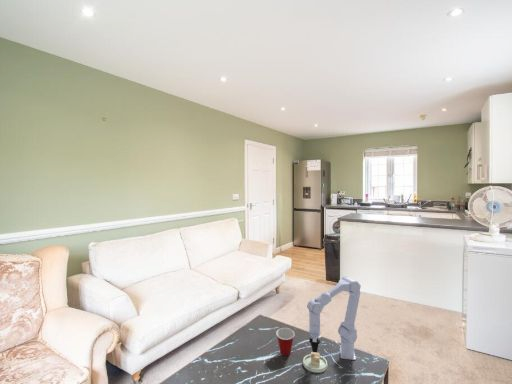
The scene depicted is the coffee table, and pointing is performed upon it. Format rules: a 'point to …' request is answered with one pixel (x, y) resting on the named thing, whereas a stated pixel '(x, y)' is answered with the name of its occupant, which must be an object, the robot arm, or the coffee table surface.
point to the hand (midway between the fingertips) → (314, 347)
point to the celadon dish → (315, 368)
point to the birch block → (315, 359)
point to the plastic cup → (285, 340)
